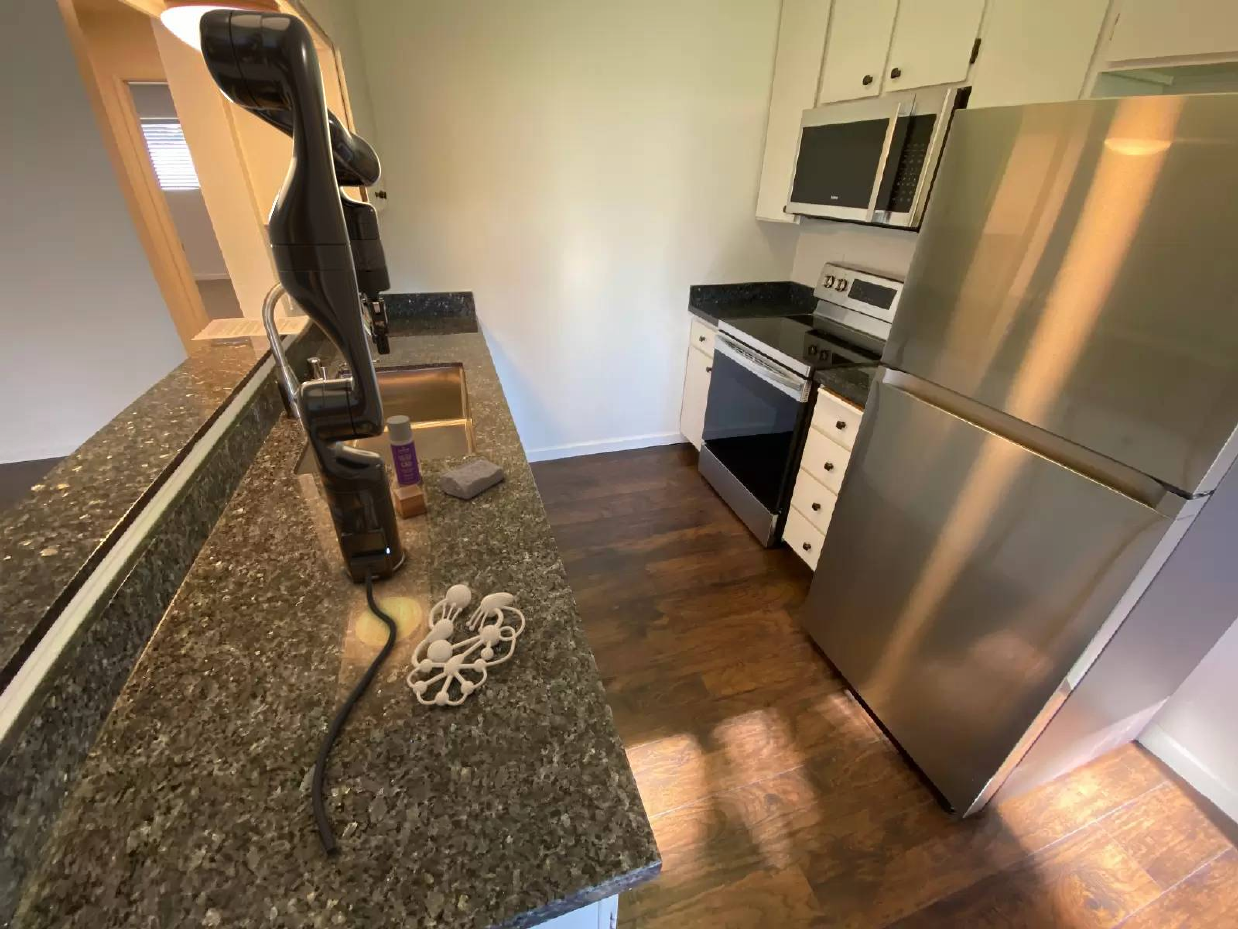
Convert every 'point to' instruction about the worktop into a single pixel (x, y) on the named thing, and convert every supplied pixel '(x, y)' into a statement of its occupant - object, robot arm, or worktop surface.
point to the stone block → (471, 478)
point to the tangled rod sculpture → (461, 643)
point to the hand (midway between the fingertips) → (381, 348)
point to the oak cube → (409, 501)
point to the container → (403, 450)
